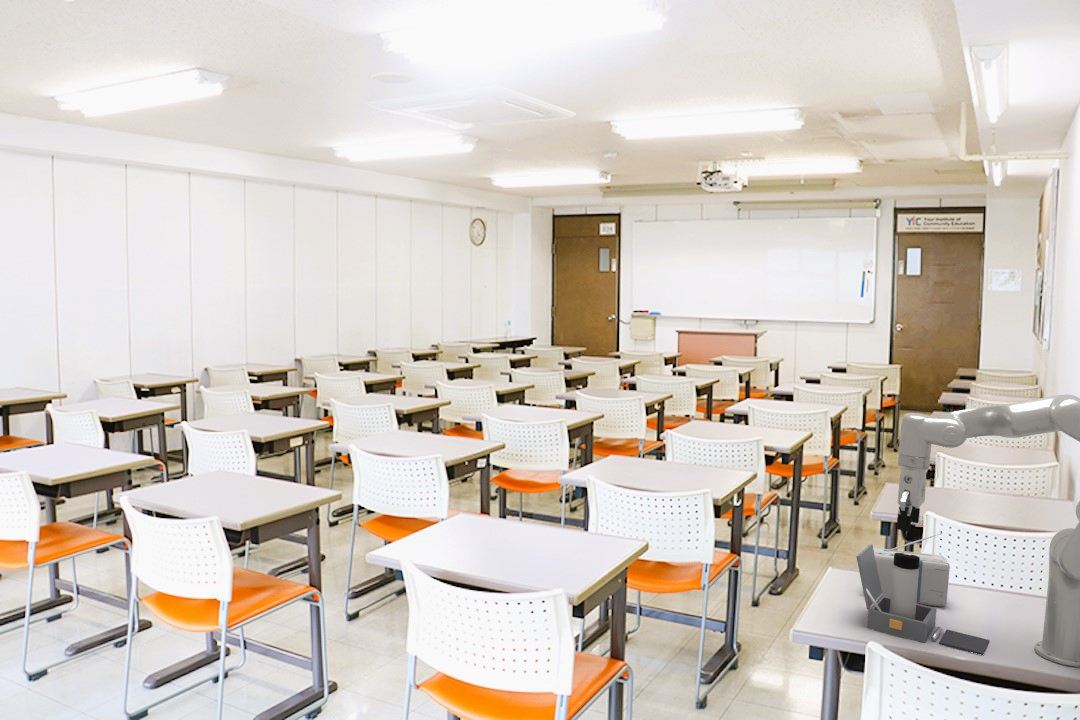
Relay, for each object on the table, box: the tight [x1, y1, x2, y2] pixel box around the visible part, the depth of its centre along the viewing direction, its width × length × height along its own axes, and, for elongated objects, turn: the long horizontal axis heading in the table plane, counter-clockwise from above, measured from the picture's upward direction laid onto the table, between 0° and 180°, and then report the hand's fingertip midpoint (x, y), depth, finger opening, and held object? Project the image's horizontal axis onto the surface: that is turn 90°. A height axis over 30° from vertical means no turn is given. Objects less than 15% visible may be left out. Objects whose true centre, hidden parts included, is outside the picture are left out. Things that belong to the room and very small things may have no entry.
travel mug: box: [889, 553, 920, 620], centre depth 221 cm, size 6×7×20 cm
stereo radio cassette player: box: [873, 532, 951, 608], centre depth 241 cm, size 21×8×20 cm, turn 73°
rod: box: [930, 626, 943, 642], centre depth 218 cm, size 1×9×1 cm, turn 145°
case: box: [855, 543, 937, 644], centre depth 222 cm, size 18×14×19 cm
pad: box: [938, 628, 990, 656], centre depth 214 cm, size 10×10×1 cm
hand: (907, 526), depth 220 cm, fingers open, 9 cm apart
